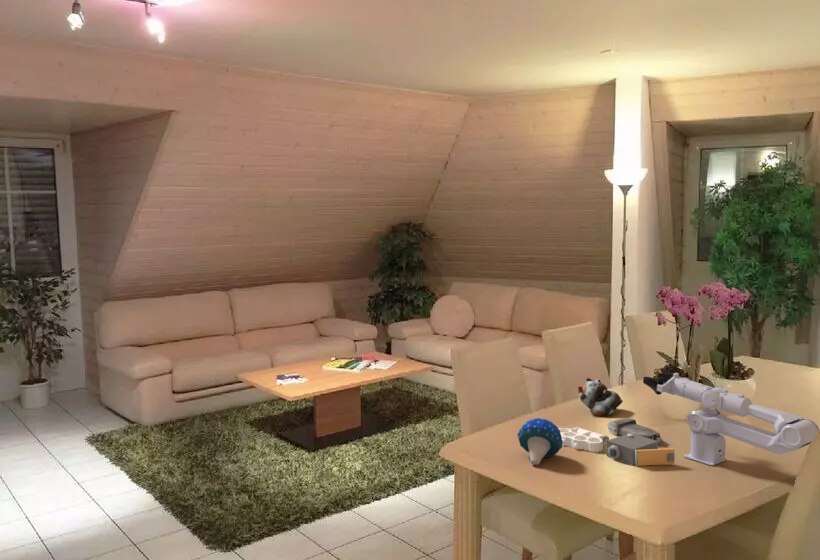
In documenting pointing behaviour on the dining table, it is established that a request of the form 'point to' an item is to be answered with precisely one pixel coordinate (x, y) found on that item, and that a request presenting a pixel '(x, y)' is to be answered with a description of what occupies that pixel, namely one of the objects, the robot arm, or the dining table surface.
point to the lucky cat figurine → (599, 398)
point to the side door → (654, 456)
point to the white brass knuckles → (583, 439)
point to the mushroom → (540, 439)
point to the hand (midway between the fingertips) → (651, 377)
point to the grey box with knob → (628, 447)
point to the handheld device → (632, 429)
